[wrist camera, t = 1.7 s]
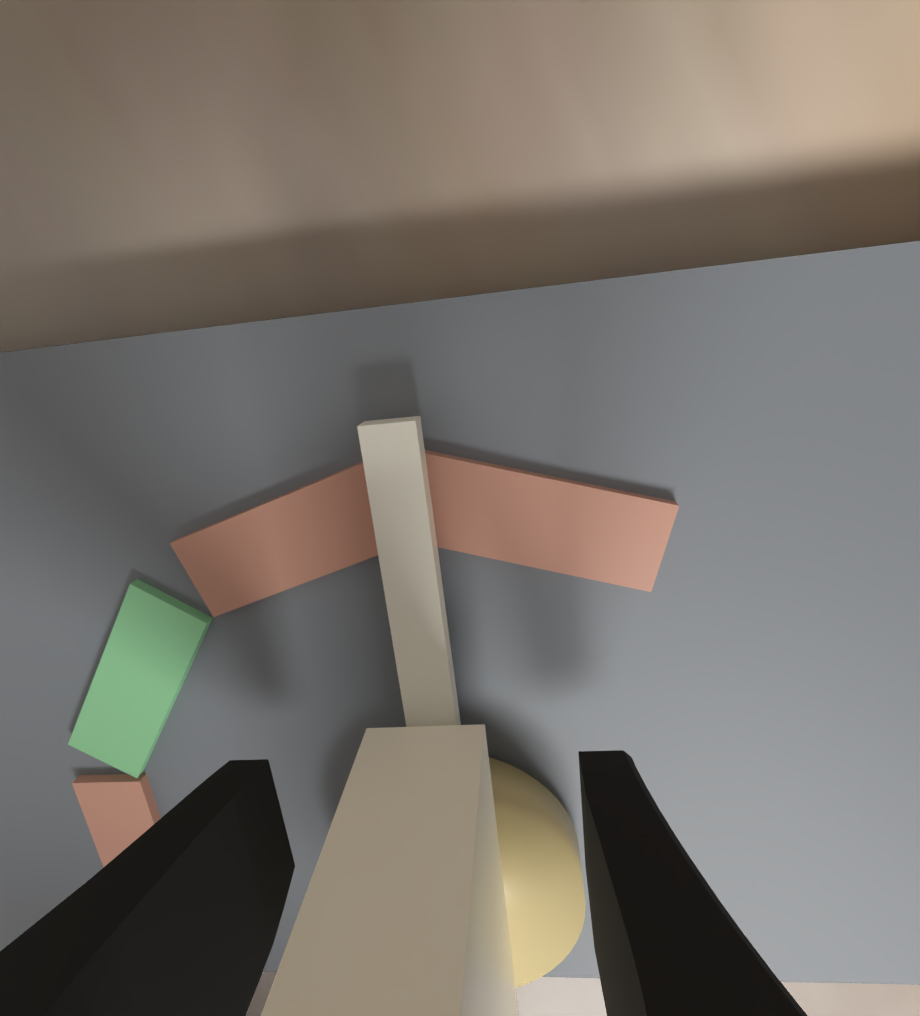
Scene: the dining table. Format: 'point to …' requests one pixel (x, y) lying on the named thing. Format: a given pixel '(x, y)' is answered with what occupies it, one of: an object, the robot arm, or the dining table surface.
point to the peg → (428, 818)
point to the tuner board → (494, 577)
